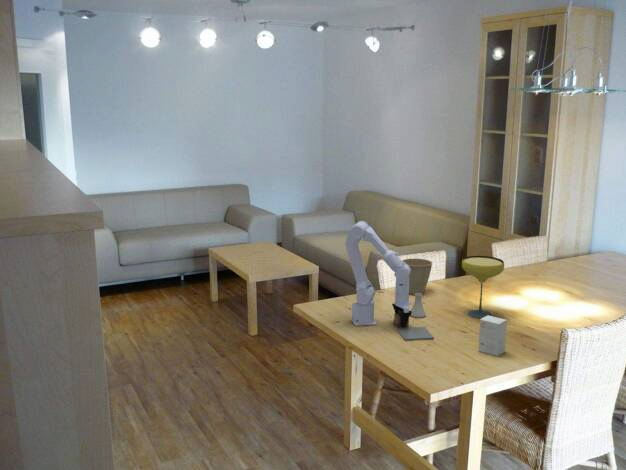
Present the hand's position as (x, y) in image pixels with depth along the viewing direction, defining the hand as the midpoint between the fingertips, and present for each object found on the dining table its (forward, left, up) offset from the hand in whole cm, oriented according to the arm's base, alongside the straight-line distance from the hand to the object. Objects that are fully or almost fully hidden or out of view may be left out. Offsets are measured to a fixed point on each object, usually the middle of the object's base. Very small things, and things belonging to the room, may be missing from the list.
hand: (401, 323), depth 265 cm
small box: (+27, -31, -2) cm, 41 cm away
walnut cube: (0, 0, -2) cm, 2 cm away
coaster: (+3, -10, -1) cm, 11 cm away
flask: (+11, +12, -2) cm, 16 cm away
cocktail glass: (+39, +9, -2) cm, 40 cm away
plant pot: (+20, +44, -2) cm, 48 cm away
